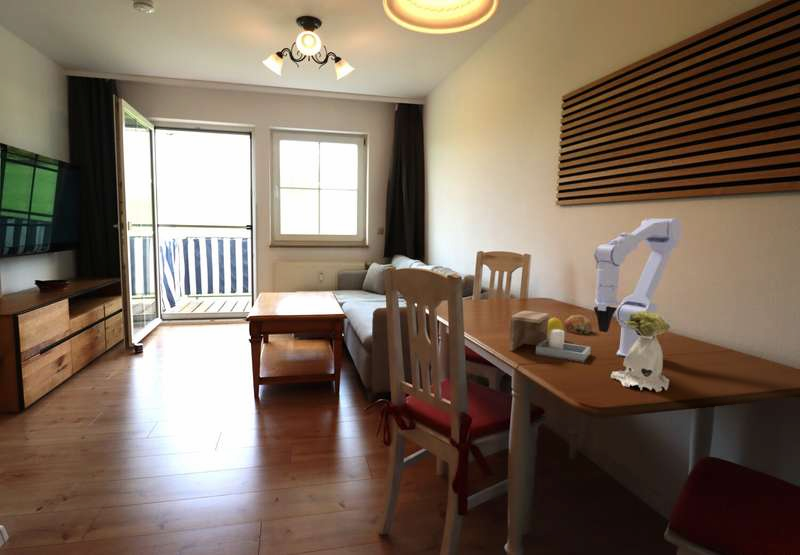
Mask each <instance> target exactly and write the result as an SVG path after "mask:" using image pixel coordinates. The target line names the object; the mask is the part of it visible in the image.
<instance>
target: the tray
mask: <svg viewBox="0 0 800 555" xmlns="http://www.w3.org/2000/svg"><path fill="white" fill-rule="evenodd" d="M535 355H539V356H544V357H549V358H550V357H551V358H556V359H563V360H567V359H568V360H569V361H573V360H574V362H579V361H580V363H585V362H586V360H587V359H588V358H589V356H590V355H591V346H587V345H580V344H579V345H578V344H574V343H568V342H564V348H563V350H559V349H553V348H549V339H547V340H544V341H543V342H541V343H540V344H539V345H535ZM584 361H585V362H584Z"/></svg>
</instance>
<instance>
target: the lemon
mask: <svg viewBox="0 0 800 555" xmlns="http://www.w3.org/2000/svg"><path fill="white" fill-rule="evenodd" d="M550 329H559V330H563V331H564V325H563V322H562V320H560V319H559V318H558V317H557V316H553V317H551V318H549V322H548V336H549V332H550Z"/></svg>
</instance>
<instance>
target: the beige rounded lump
mask: <svg viewBox="0 0 800 555" xmlns="http://www.w3.org/2000/svg"><path fill="white" fill-rule="evenodd" d="M565 332H566V331H565V330H564V329H563V330H559V329H550V332H549V335H548V341H549V348H553V349H559V350H563V348H564V343H565Z"/></svg>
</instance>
